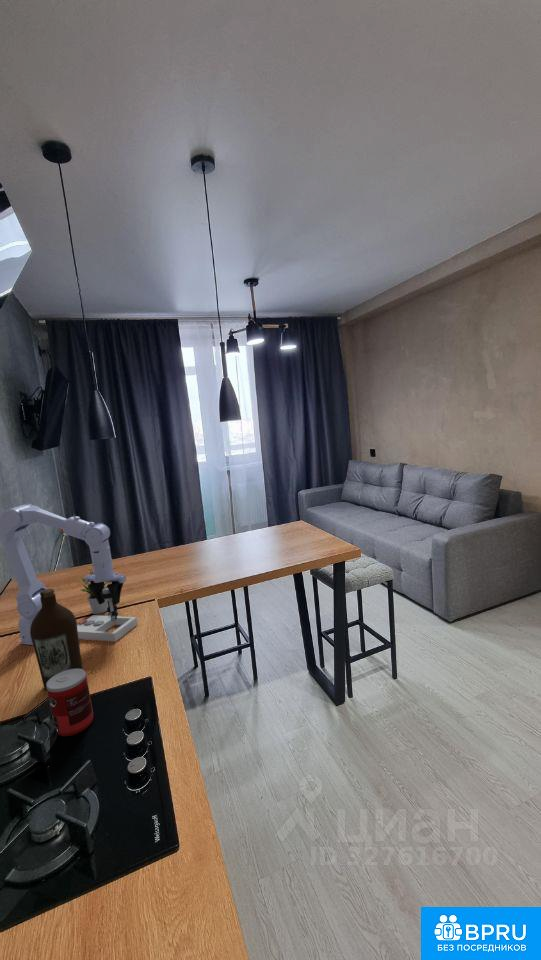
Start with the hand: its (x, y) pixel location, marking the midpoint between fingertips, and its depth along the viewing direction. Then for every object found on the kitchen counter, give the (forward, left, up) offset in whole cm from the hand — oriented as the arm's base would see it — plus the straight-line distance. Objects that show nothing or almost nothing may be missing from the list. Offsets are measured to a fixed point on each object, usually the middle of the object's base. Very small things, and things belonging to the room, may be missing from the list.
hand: (109, 603), depth 135 cm
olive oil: (+5, -26, -10) cm, 28 cm away
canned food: (+21, -39, -10) cm, 45 cm away
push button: (+1, 0, -5) cm, 5 cm away
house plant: (-16, +14, -10) cm, 23 cm away
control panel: (-4, 0, -10) cm, 10 cm away
